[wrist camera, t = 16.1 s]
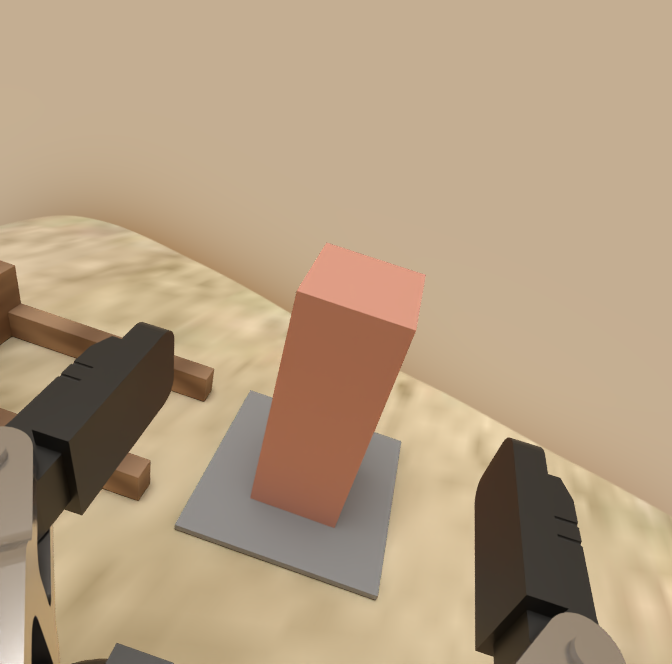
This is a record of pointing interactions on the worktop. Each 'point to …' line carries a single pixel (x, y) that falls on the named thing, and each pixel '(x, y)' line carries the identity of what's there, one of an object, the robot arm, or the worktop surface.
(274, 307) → the worktop surface
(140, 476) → the frame
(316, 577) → the mat
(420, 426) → the worktop surface
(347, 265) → the red block
